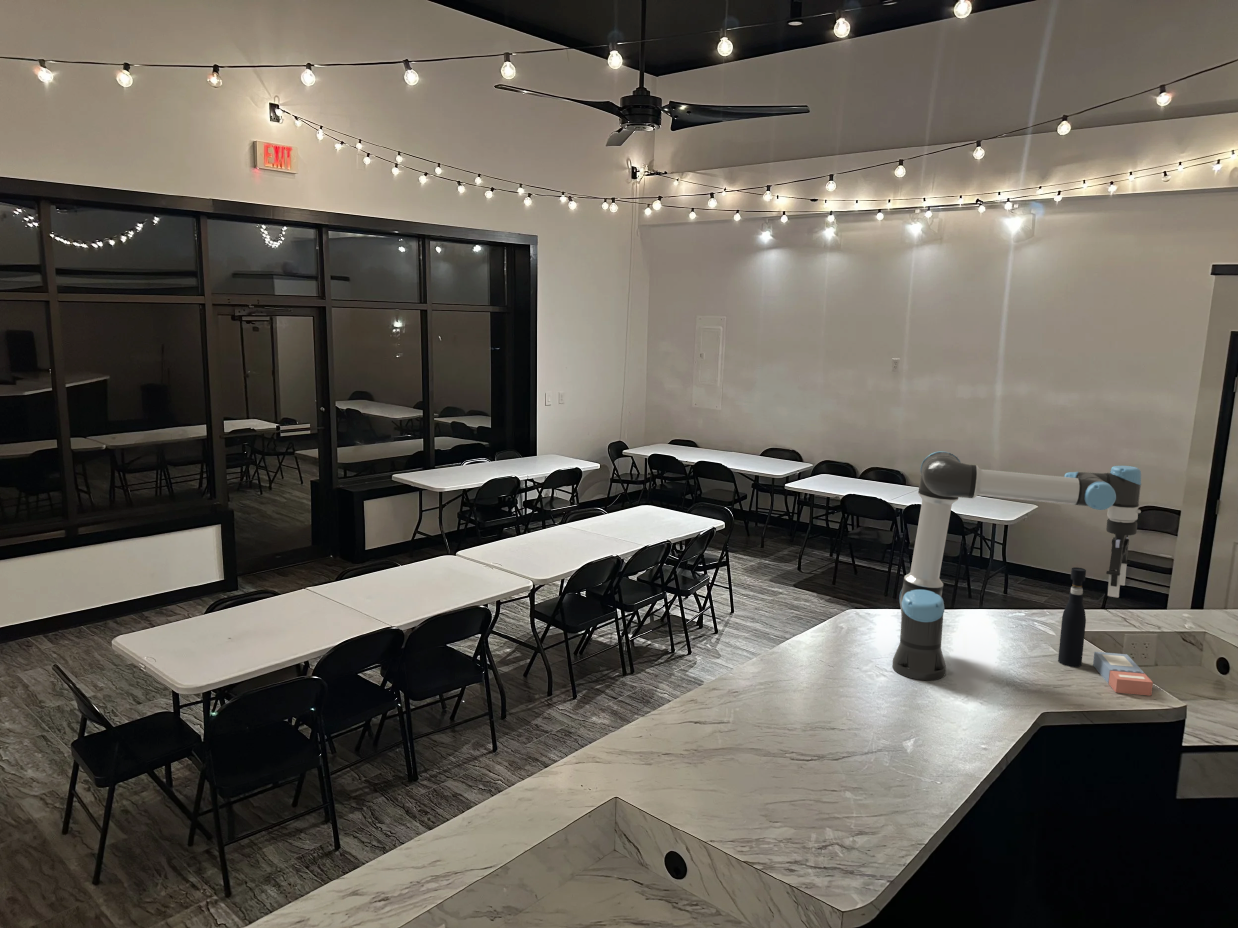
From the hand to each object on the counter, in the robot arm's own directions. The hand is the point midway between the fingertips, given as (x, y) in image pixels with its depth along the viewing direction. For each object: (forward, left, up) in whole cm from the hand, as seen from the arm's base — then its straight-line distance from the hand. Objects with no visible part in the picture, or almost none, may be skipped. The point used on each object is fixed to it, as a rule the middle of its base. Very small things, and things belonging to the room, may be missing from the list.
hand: (1116, 590), depth 241 cm
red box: (+3, -10, -26) cm, 28 cm away
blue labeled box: (+3, 0, -26) cm, 26 cm away
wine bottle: (-8, +7, -26) cm, 29 cm away
